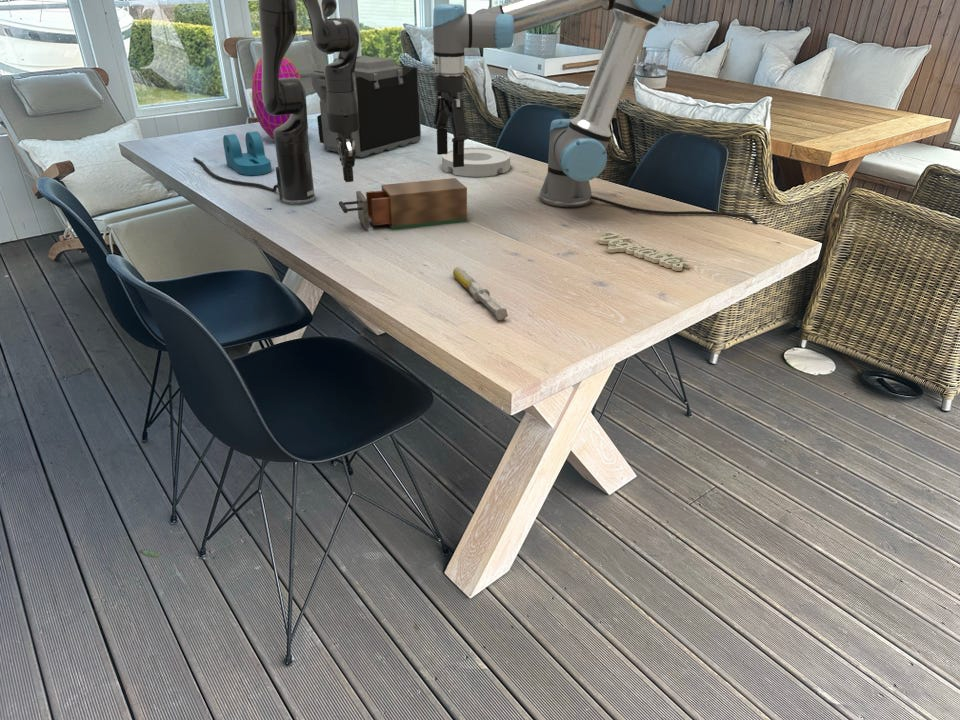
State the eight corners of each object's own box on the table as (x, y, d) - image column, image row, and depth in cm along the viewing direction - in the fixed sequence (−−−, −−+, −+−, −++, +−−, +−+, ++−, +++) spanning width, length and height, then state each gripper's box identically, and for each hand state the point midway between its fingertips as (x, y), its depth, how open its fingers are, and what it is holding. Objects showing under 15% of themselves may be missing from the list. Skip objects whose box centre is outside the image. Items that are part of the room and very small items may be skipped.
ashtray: (444, 158, 243) (444, 146, 241) (509, 159, 243) (510, 147, 241) (439, 176, 224) (438, 163, 222) (510, 177, 223) (510, 165, 221)
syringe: (449, 274, 155) (449, 263, 153) (465, 272, 156) (464, 260, 154) (490, 323, 135) (491, 310, 133) (508, 319, 136) (508, 307, 134)
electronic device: (383, 133, 276) (378, 52, 261) (425, 141, 265) (422, 56, 250) (314, 150, 251) (304, 61, 235) (358, 160, 240) (350, 67, 224)
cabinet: (392, 229, 180) (390, 195, 175) (383, 218, 188) (381, 184, 183) (467, 221, 186) (467, 187, 182) (455, 210, 194) (455, 177, 189)
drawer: (345, 230, 176) (343, 202, 173) (339, 220, 183) (336, 193, 179) (437, 220, 184) (437, 193, 180) (428, 210, 191) (427, 184, 187)
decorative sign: (584, 239, 172) (609, 230, 178) (583, 243, 172) (609, 234, 178) (672, 271, 155) (697, 260, 161) (671, 275, 156) (696, 264, 161)
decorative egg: (293, 132, 276) (283, 50, 261) (319, 140, 264) (310, 56, 249) (249, 139, 265) (236, 54, 250) (273, 148, 253) (261, 60, 238)
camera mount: (227, 164, 233) (221, 132, 227) (257, 160, 238) (252, 129, 233) (244, 176, 220) (239, 143, 215) (276, 172, 225) (271, 139, 220)
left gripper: (322, 106, 170) (329, 175, 179) (331, 116, 159) (338, 189, 168) (352, 104, 172) (358, 173, 181) (363, 114, 162) (368, 187, 171)
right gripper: (420, 67, 180) (423, 150, 190) (450, 82, 159) (451, 173, 170) (448, 66, 182) (449, 148, 193) (480, 81, 162) (479, 171, 172)
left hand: (348, 181), depth 175 cm, fingers closed
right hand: (450, 160), depth 181 cm, fingers open, 13 cm apart
